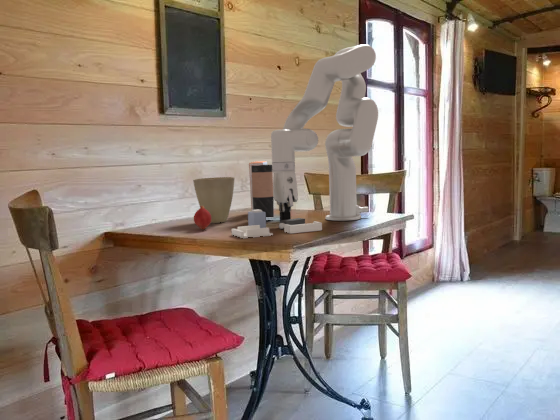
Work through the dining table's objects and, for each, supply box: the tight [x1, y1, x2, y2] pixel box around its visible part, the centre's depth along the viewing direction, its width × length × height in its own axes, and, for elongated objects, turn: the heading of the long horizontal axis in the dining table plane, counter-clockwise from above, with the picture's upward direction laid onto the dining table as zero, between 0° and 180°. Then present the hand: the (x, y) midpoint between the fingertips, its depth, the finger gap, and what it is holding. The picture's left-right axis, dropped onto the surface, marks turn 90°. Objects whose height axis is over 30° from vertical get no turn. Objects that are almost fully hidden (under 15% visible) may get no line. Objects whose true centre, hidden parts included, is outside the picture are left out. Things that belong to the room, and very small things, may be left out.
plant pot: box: [192, 176, 235, 224], centre depth 210 cm, size 15×15×16 cm
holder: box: [231, 225, 274, 239], centre depth 174 cm, size 10×8×2 cm
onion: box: [193, 206, 212, 231], centre depth 191 cm, size 6×6×8 cm
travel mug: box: [252, 164, 275, 217], centre depth 210 cm, size 8×8×20 cm
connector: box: [247, 209, 267, 228], centre depth 185 cm, size 4×5×7 cm
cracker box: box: [248, 160, 268, 210], centre depth 231 cm, size 14×6×21 cm, turn 174°
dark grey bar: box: [278, 217, 306, 230], centre depth 187 cm, size 9×3×3 cm, turn 130°
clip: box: [284, 220, 323, 234], centre depth 180 cm, size 11×4×2 cm, turn 114°
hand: (285, 223), depth 191 cm, fingers closed
